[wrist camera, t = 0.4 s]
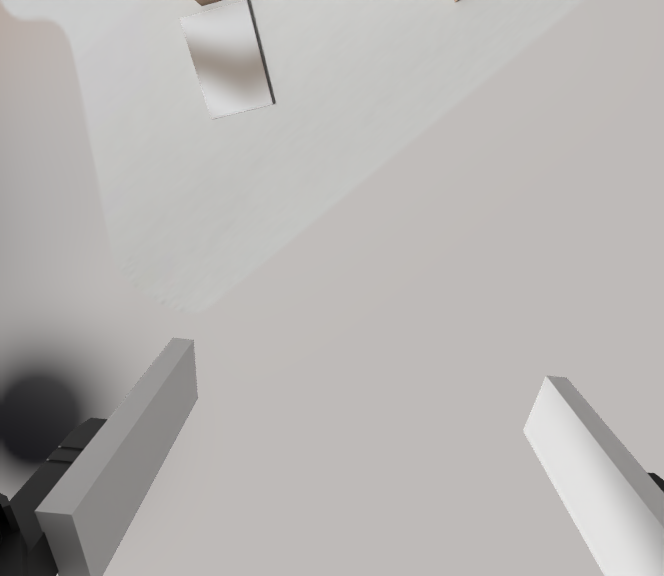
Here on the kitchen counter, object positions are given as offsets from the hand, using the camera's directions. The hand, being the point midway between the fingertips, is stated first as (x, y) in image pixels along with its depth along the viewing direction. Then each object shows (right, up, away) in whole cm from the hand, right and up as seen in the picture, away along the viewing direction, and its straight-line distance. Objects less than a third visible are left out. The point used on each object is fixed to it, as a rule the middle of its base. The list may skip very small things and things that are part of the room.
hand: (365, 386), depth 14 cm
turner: (-11, +28, +17) cm, 35 cm away
